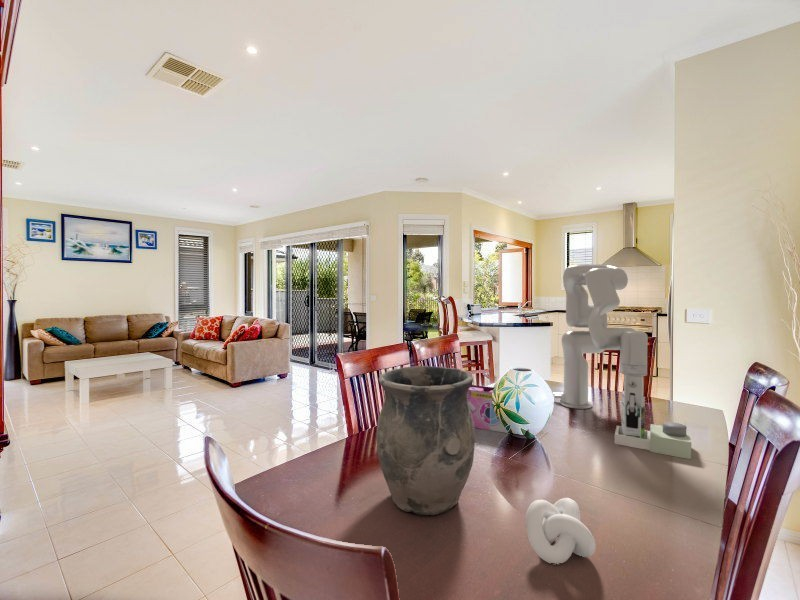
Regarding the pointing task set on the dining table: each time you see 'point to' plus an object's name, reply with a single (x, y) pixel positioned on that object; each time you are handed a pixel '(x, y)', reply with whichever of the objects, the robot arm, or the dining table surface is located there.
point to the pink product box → (483, 408)
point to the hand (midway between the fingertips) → (632, 423)
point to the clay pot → (425, 437)
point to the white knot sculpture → (558, 530)
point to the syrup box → (641, 420)
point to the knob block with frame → (660, 439)
